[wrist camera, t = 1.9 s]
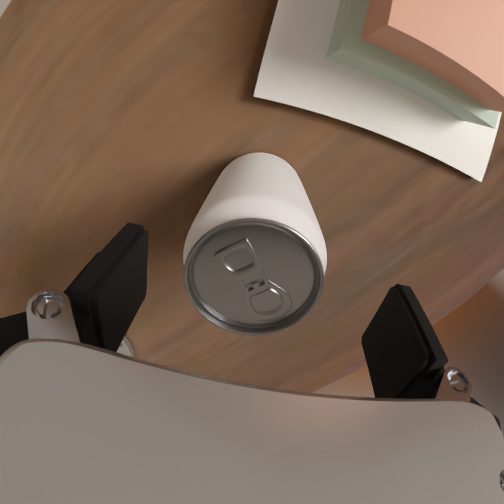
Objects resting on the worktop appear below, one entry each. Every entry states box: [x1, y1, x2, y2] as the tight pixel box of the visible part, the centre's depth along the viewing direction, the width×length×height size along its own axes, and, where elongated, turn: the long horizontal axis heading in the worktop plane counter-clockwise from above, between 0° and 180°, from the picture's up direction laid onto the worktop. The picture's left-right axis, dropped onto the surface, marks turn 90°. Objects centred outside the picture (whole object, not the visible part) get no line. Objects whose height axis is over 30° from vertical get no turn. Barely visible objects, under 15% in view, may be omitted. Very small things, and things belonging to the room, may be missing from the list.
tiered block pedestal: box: [254, 0, 504, 182], centre depth 11 cm, size 20×20×9 cm
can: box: [183, 153, 327, 336], centre depth 17 cm, size 6×6×12 cm
